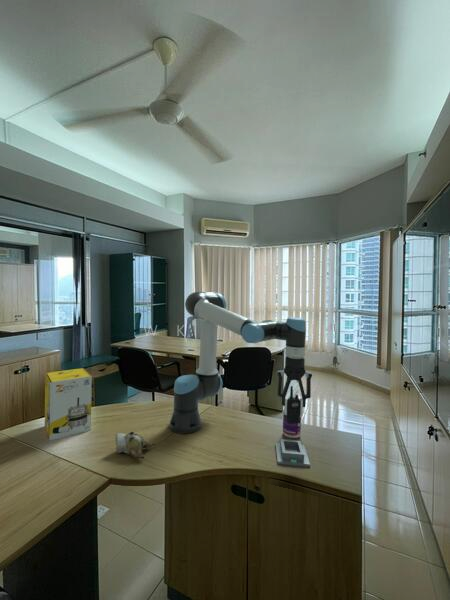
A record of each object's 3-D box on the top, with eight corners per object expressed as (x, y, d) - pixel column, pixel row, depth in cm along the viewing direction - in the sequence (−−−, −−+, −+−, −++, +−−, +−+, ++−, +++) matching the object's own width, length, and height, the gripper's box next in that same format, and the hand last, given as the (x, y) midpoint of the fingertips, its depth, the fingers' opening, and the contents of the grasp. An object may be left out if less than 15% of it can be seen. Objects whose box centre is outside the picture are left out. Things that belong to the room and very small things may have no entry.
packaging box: (49, 440, 120) (50, 382, 120) (44, 426, 133) (45, 373, 132) (91, 430, 131) (91, 376, 130) (82, 417, 143) (83, 368, 143)
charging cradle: (277, 464, 109) (278, 455, 108) (275, 444, 122) (275, 436, 122) (310, 467, 107) (310, 457, 107) (303, 447, 121) (304, 439, 121)
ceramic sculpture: (123, 423, 120) (156, 429, 117) (122, 443, 120) (155, 450, 117) (108, 435, 109) (144, 443, 106) (107, 457, 110) (142, 465, 107)
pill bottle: (300, 440, 127) (302, 408, 126) (282, 438, 128) (283, 406, 128) (299, 431, 135) (300, 401, 134) (282, 429, 136) (283, 399, 136)
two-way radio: (288, 425, 112) (289, 387, 111) (283, 420, 116) (284, 383, 116) (301, 424, 113) (302, 386, 112) (296, 419, 117) (297, 383, 117)
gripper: (272, 357, 111) (270, 416, 112) (320, 360, 109) (318, 420, 110) (271, 353, 119) (269, 408, 119) (316, 355, 117) (314, 411, 117)
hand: (293, 414), depth 114 cm, fingers closed on two-way radio, 5 cm apart
